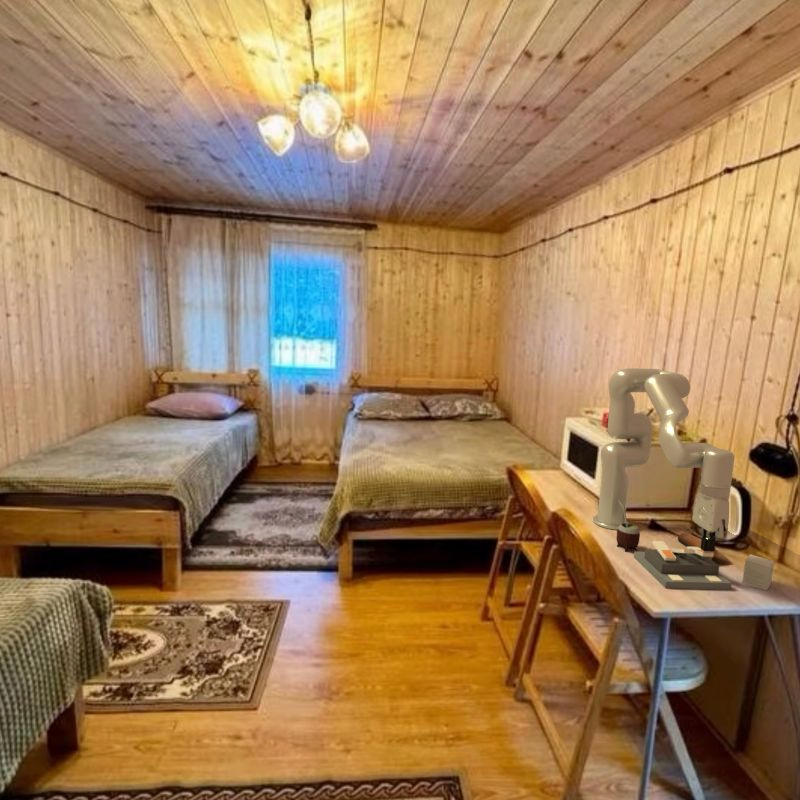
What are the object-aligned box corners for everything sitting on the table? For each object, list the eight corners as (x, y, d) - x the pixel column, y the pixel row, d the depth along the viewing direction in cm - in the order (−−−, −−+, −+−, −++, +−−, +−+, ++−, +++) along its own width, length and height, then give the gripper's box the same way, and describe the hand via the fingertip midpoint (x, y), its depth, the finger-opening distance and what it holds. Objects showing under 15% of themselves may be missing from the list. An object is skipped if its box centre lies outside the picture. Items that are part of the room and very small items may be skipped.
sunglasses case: (736, 565, 158) (728, 548, 157) (717, 575, 158) (708, 558, 157) (699, 541, 176) (692, 525, 175) (682, 550, 176) (674, 535, 175)
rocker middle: (670, 555, 155) (669, 548, 155) (680, 555, 155) (679, 548, 155) (684, 556, 147) (684, 549, 148) (695, 556, 147) (694, 549, 148)
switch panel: (633, 557, 162) (635, 542, 161) (691, 558, 162) (693, 544, 161) (665, 588, 143) (667, 571, 142) (730, 589, 143) (732, 573, 142)
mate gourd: (637, 555, 163) (642, 511, 161) (611, 549, 167) (615, 506, 165) (639, 546, 170) (643, 504, 168) (614, 541, 174) (618, 500, 171)
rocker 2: (686, 553, 155) (686, 546, 155) (696, 553, 155) (696, 546, 155) (702, 559, 147) (702, 552, 147) (713, 560, 147) (713, 552, 147)
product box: (747, 576, 151) (750, 553, 150) (771, 584, 147) (775, 561, 146) (741, 582, 147) (745, 559, 146) (766, 591, 143) (770, 567, 142)
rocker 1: (651, 546, 155) (652, 540, 155) (661, 546, 155) (663, 540, 155) (664, 563, 148) (665, 557, 147) (674, 563, 148) (676, 557, 147)
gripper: (687, 482, 153) (680, 539, 155) (718, 499, 138) (710, 561, 140) (711, 483, 153) (704, 540, 155) (745, 500, 138) (736, 562, 141)
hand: (707, 550), depth 148 cm, fingers closed
